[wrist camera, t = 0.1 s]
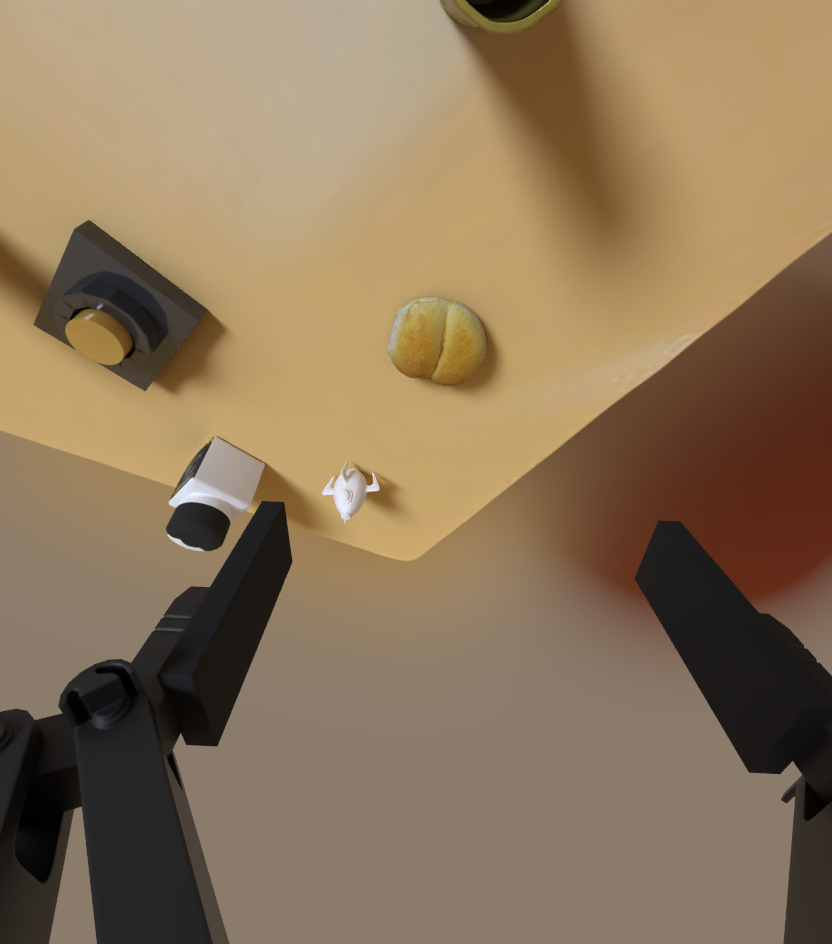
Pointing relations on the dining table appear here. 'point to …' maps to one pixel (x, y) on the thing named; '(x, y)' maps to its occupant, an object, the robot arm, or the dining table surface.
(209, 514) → the medicine bottle
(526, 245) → the dining table surface
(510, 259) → the dining table surface
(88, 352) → the tan short cylinder
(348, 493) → the rocket toy
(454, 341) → the bread roll
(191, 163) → the dining table surface
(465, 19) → the vase
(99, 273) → the button base
